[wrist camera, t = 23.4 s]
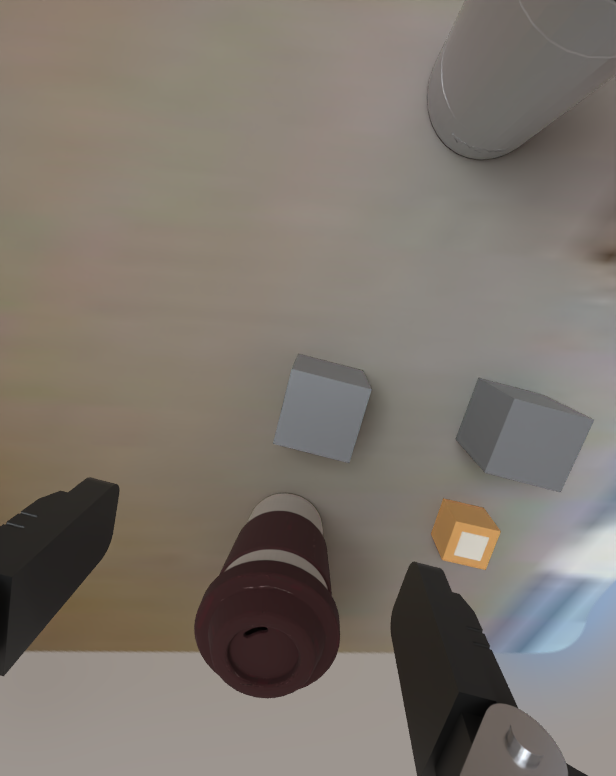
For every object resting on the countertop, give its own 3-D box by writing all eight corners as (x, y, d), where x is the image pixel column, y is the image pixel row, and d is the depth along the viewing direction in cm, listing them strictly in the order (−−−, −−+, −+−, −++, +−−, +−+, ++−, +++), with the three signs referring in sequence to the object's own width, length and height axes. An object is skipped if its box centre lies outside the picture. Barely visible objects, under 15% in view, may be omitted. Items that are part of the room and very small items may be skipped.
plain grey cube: (298, 353, 36) (291, 368, 29) (363, 370, 36) (371, 389, 29) (282, 415, 37) (273, 443, 30) (345, 431, 37) (349, 463, 30)
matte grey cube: (478, 377, 35) (514, 398, 29) (543, 394, 36) (594, 419, 29) (455, 439, 37) (484, 472, 30) (517, 455, 37) (560, 492, 30)
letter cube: (443, 498, 39) (456, 521, 35) (483, 507, 39) (501, 532, 35) (430, 533, 40) (442, 560, 36) (469, 542, 40) (485, 570, 36)
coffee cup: (323, 575, 41) (322, 732, 27) (229, 555, 41) (176, 701, 27) (346, 490, 39) (357, 611, 24) (246, 469, 39) (196, 577, 24)
